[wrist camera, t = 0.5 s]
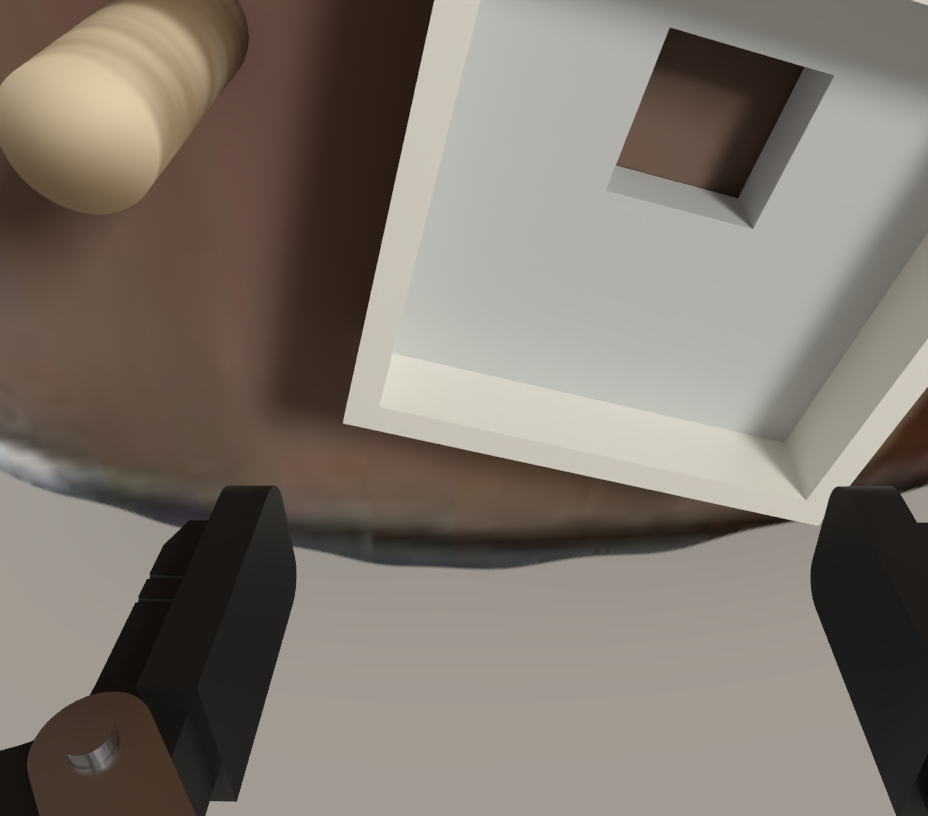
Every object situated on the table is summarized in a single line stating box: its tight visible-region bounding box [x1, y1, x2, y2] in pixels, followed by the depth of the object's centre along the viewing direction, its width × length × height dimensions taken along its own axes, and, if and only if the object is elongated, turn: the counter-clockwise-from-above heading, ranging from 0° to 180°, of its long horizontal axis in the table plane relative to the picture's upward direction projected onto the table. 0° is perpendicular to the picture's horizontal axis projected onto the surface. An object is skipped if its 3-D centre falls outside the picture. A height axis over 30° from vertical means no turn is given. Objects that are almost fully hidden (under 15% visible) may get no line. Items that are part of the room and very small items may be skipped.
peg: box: [0, 0, 249, 215], centre depth 25 cm, size 4×4×10 cm
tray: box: [343, 0, 928, 526], centre depth 30 cm, size 20×20×6 cm
